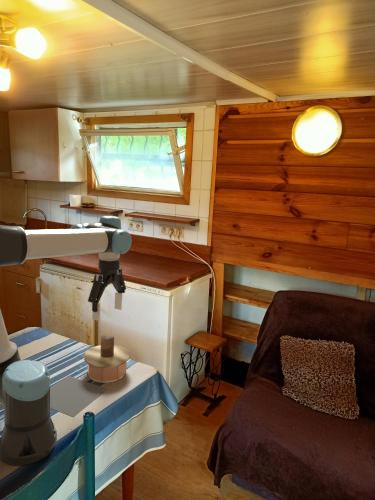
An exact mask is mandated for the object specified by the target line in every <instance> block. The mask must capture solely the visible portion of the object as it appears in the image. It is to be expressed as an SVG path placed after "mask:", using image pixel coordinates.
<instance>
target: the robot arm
mask: <svg viewBox="0 0 375 500" xmlns="http://www.w3.org/2000/svg"><path fill="white" fill-rule="evenodd" d="M121 221H122V220H121V218H120V217H118V216H115V215H114V216H113V215H101V216H100V218H99V221H98V222H93V223H92V222H90V223H89V222H88V223H81V222H80V223H78V224H73V225H71V226H70V227H69V228H65V229H63V228H60V229H59V228H58V229H24V228H23V227H22V226H20V225H6V224H5V225H4V224H0V267H6V266H14V265H22V264H24V263H25V262H26V260H33V259H34V260H36V259H47V258H48V259H49V258H57V257H58V258H59V257H70V256H81V255H82V256H83V255H91V254H93V255H94V254H98V258H99V259H98V270H99V271H100V274H96V273H95V274H94V279H93V282H92V286H91V289H90V291H89V292H90V293H89V296H88V298H87V302H88V303H91V307H92V308H91V311H92V315H91V316H92V317H91V319H92V320H93V321H98V322H99V321H100V320H101V302H100V300H101V299H102V296H103V294H104V292H105V290H106V288H107V287H108V286H109V285H111V284H112V286H113V288H114V289H115V291H116V292H115V293H114V309H115V310H119V311H121V310H122V306H123V305H122V303H123V301H122V300H123V294H125V293H126V290H127V287H126V283H125V279H124V275H123V269H122V268H120V261H121V260H120V258H121V255H125V254H126V253H127V252H129V250H130V249H131V247H132V241H133V240H132V236H131V234H130V233H129V232H128V231H126V230H124V229H122V222H121ZM51 382H52V381H51V376H50V370H49V368H48V367H47V365H45V364H44V363H43V362H42V361H38V360H35V359H34V360H31V359H21V357H20V353H19V348H18V345H17V343H15V342H13V341H11V340H10V337H9V335H8V331H7V328H6V325H5V320H4V317H3V314H2V310H1V309H0V405H2V408H3V415H4V416H3V417H4V419H3V420H4V426H3V429H2V430H1V431H2V433H1V436H0V460H1V461H2V462H4V463H5V464H8V465H11V466H27V465H31V464H34V463H37V462H39V461H41V460H43V459H44V458H46V457H48V456H49V455H50V454H51V453H52V451H53V449H54V448H56V447H55V446H57V445H56V444H57V441H58V433H57V432H58V431H57V429H56V427H55V424H54V422H53V420H52V417H51V408H50V387H51V384H52V383H51Z"/></svg>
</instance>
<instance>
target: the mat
mask: <svg viewBox="0 0 375 500" xmlns="http://www.w3.org/2000/svg"><path fill="white" fill-rule="evenodd" d="M106 391H108V388H105V387H103V386H100V385H97V384H94V383H91V382H88V381H85V380H83V379H79V378H76V377H73V376H70V375H67V376H65V377H64V378H63V379H61V380H59V381H58V382H56V383H55V384H53V385H52V386H50V410H54V411H56V412H59V413H60V414H61V413H62V414H64V415H67V416H70V417H71V418H75V416H77V415H78V414H79V413H81V412H82V411H83V410H84V409H85V408H87V407H88V406H89V405H91V404H92V403H93V402H94V401H95V400H97V399H98V398H99V397H100V396H102V395H103V394H104V393H105V392H106Z"/></svg>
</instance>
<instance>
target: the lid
mask: <svg viewBox="0 0 375 500" xmlns="http://www.w3.org/2000/svg"><path fill="white" fill-rule="evenodd" d="M130 353H131V352H130V351H129V350H128V349H127V348H126V347H123V346H122V345H117V344H115V336H114V335H112V334H104V335H101V336H100V345H97V346H93V347H91V348H89V349H87V350H86V351H85V352H84V355H83V360H84V362H85V363H86V364H87V366H88V365H90V366H93V367H97V368H113V367H117V366H120V365H123V364H124V363H126V362H128V361H129V359H130V357H131V355H130Z"/></svg>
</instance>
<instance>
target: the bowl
mask: <svg viewBox="0 0 375 500" xmlns="http://www.w3.org/2000/svg"><path fill="white" fill-rule="evenodd" d="M127 362H128V361H127ZM127 362H126V363H124V364H123V365H120V366H117V367H113V368H97V367H93V366H90V365H88V364H87V369H86V370H87V375H88V377H89V379H90V380H92V381H94V382H96V383H103V384H104V383H106V384H107V383H113V382H116V381H119V380H121V379H122V378H124V376H125V374H126V373H127Z"/></svg>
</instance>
